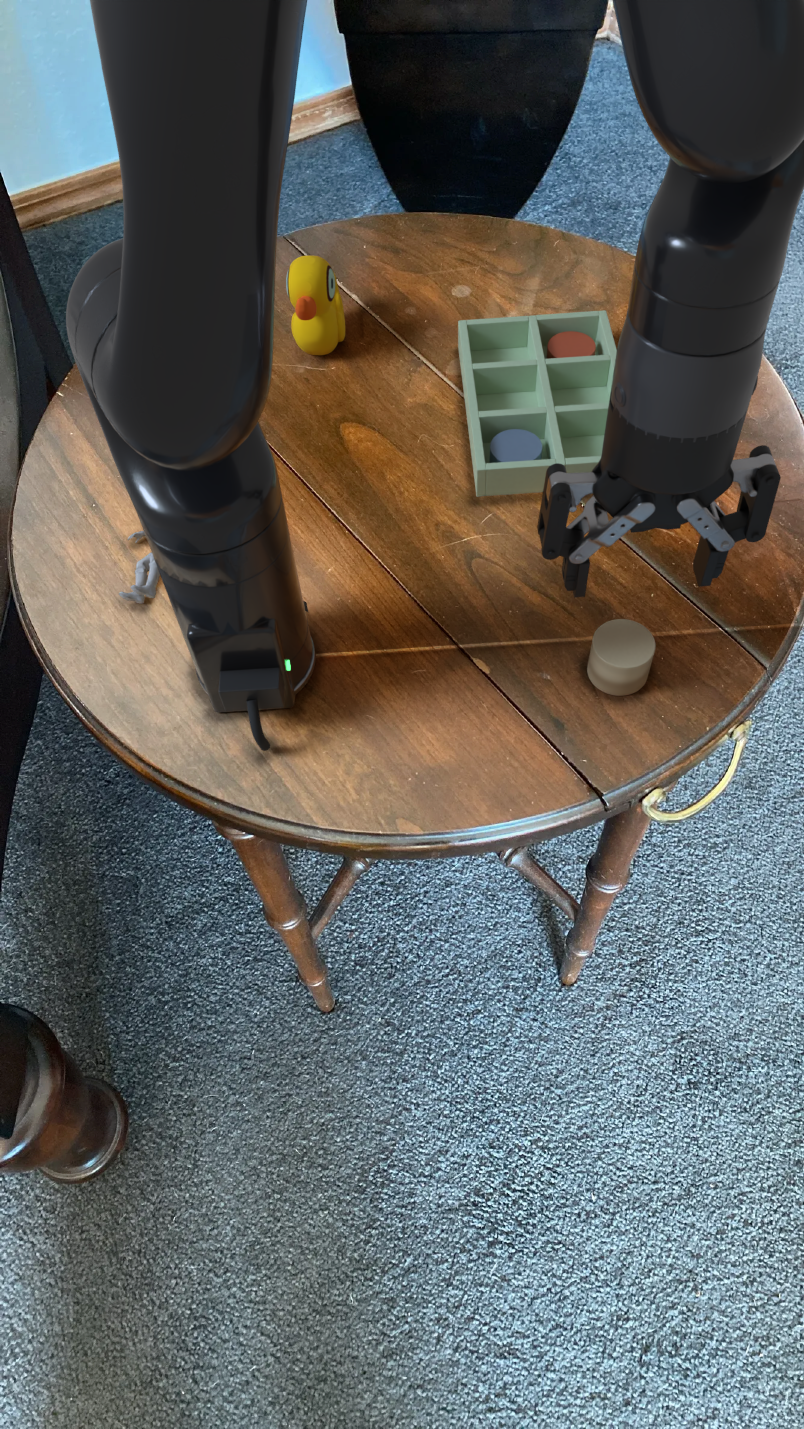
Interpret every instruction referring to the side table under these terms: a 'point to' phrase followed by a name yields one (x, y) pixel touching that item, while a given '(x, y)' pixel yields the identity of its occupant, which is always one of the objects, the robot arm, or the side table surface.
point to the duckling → (315, 305)
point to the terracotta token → (570, 345)
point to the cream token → (620, 657)
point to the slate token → (515, 446)
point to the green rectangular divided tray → (534, 395)
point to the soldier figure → (143, 576)
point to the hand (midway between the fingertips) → (638, 582)
